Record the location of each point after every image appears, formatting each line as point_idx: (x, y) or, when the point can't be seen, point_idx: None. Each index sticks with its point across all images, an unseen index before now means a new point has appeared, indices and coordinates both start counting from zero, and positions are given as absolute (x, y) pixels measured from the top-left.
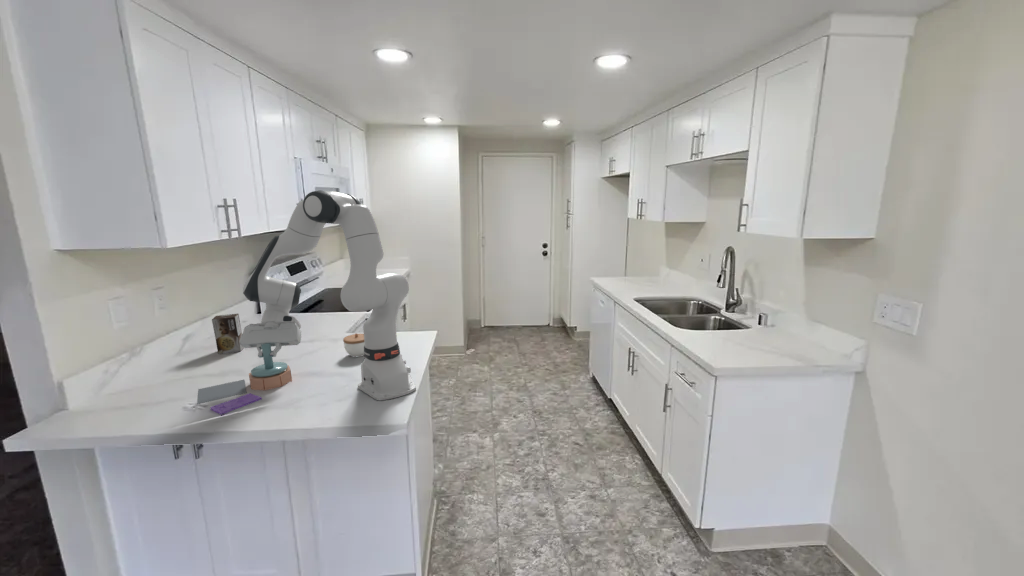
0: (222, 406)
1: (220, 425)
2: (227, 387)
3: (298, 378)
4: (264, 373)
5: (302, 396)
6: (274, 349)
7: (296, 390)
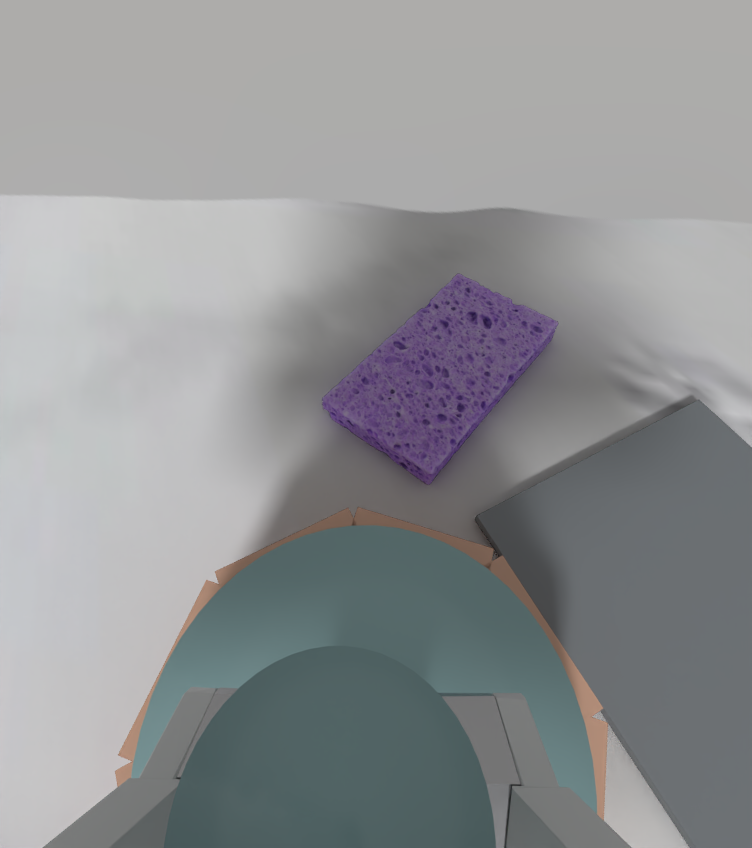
0: (495, 325)
1: (409, 231)
2: (730, 658)
3: None
4: (350, 542)
5: (83, 425)
6: (140, 805)
7: (124, 523)
